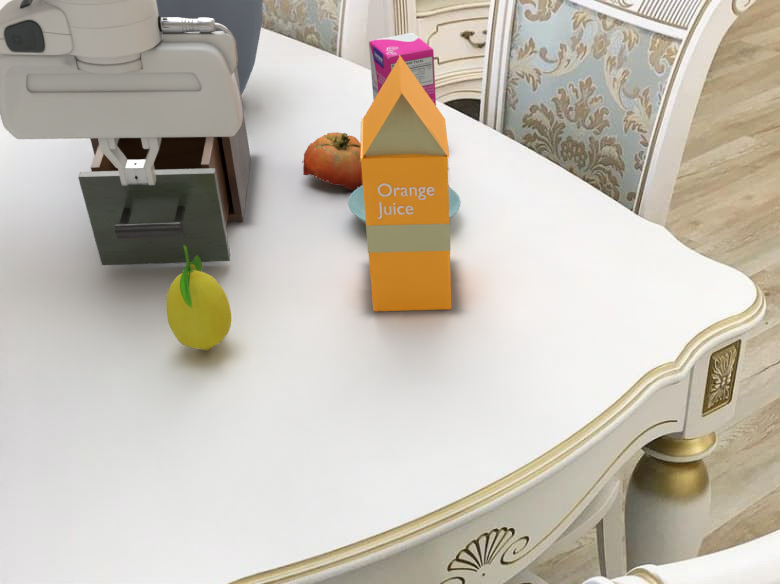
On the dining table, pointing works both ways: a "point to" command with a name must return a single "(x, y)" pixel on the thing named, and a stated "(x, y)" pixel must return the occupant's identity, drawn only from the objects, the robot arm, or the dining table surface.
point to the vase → (225, 24)
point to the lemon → (197, 307)
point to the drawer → (161, 204)
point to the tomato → (335, 160)
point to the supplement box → (411, 52)
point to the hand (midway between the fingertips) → (139, 183)
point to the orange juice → (406, 196)
